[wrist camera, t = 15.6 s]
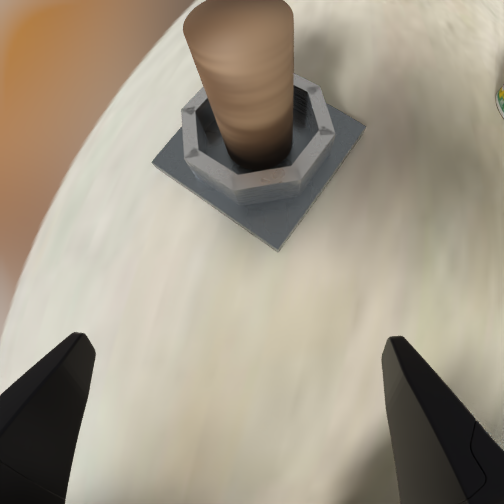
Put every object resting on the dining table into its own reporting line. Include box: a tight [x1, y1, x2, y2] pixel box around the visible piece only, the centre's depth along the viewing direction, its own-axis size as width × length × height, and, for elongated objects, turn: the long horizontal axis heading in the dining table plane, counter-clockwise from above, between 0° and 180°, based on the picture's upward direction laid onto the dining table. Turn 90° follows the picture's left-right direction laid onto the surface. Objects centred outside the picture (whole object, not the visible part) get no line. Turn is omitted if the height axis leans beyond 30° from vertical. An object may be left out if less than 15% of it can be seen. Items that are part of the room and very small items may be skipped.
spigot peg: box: [183, 0, 294, 170], centre depth 18 cm, size 5×5×12 cm
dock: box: [152, 73, 366, 252], centre depth 22 cm, size 12×12×4 cm
